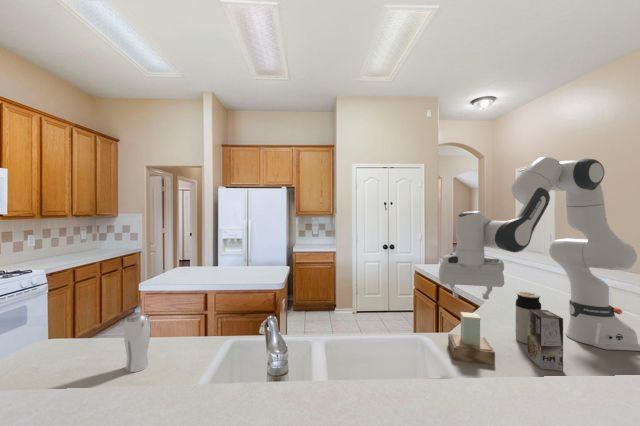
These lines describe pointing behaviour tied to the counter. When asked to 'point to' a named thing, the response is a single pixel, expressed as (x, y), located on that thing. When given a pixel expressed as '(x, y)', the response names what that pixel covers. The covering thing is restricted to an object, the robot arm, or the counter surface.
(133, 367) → the beer glass
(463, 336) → the tea tin
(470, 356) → the square wooden tray
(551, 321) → the coffee box
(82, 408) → the counter surface
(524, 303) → the travel mug
